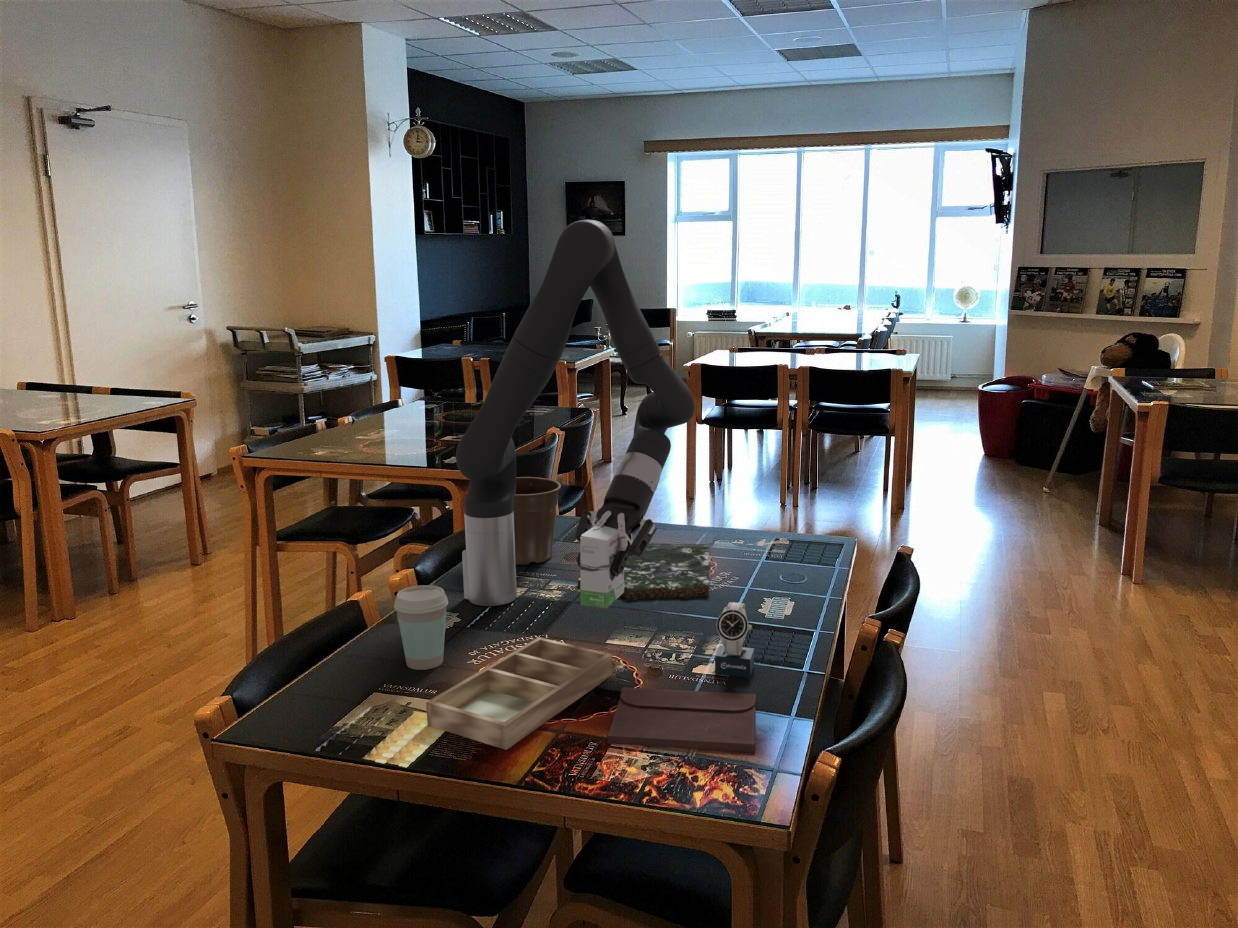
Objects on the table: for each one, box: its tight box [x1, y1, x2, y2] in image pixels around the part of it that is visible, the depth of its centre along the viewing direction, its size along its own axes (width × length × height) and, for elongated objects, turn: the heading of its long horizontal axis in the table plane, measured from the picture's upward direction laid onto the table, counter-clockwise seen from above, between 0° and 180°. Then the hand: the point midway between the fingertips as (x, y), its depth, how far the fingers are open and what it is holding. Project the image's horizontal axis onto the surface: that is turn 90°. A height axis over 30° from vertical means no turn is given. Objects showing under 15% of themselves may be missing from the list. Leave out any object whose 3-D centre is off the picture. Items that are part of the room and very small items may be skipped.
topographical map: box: [577, 543, 710, 601], centre depth 202 cm, size 26×33×3 cm
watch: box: [714, 601, 755, 679], centre depth 153 cm, size 6×8×11 cm
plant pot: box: [513, 476, 562, 566], centre depth 211 cm, size 16×16×16 cm
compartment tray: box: [425, 636, 613, 751], centre depth 145 cm, size 14×27×4 cm, turn 149°
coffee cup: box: [393, 584, 449, 671], centre depth 158 cm, size 8×8×12 cm
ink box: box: [579, 525, 624, 609], centre depth 162 cm, size 9×5×12 cm, turn 160°
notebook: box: [607, 686, 757, 754], centre depth 138 cm, size 15×20×2 cm
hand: (597, 570), depth 160 cm, fingers closed on ink box, 5 cm apart
